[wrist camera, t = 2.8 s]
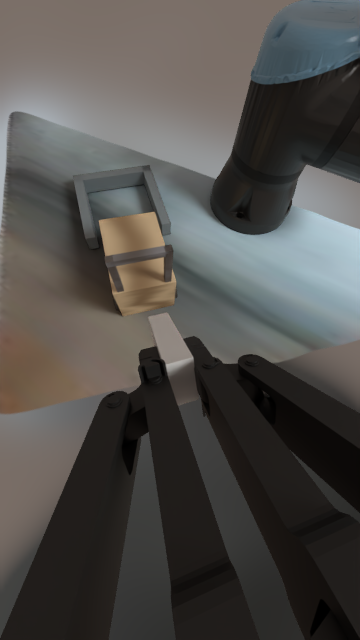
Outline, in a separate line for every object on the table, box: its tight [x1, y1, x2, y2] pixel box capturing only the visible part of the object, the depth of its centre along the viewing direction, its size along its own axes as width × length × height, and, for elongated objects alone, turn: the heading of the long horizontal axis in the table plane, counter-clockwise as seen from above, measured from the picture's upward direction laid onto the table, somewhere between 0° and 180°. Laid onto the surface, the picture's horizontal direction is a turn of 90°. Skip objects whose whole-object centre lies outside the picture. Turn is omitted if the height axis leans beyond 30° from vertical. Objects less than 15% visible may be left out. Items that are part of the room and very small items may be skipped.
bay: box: [73, 165, 171, 249], centre depth 39 cm, size 14×14×2 cm
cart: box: [99, 212, 177, 316], centre depth 30 cm, size 9×12×13 cm
